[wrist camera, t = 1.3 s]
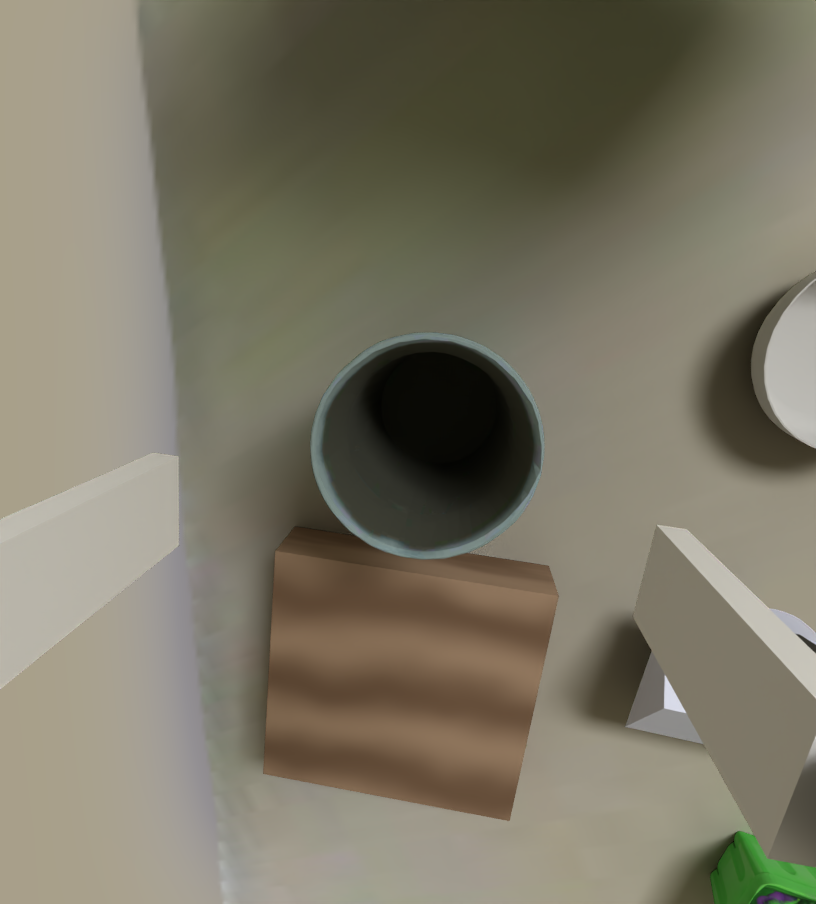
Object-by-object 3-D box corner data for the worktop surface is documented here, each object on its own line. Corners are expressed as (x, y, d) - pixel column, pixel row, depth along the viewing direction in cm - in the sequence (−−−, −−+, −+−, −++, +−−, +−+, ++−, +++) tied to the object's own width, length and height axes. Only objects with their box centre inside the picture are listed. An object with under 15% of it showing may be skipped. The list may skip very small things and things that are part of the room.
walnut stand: (295, 526, 37) (275, 550, 33) (548, 566, 36) (558, 596, 32) (281, 731, 42) (263, 773, 38) (505, 772, 40) (509, 820, 37)
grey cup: (357, 471, 36) (305, 546, 24) (366, 319, 33) (313, 321, 21) (506, 488, 35) (526, 574, 23) (528, 333, 32) (563, 344, 20)
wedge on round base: (611, 691, 38) (793, 731, 37) (641, 769, 31) (863, 819, 31) (647, 582, 35) (843, 623, 35) (688, 642, 29) (930, 693, 28)
